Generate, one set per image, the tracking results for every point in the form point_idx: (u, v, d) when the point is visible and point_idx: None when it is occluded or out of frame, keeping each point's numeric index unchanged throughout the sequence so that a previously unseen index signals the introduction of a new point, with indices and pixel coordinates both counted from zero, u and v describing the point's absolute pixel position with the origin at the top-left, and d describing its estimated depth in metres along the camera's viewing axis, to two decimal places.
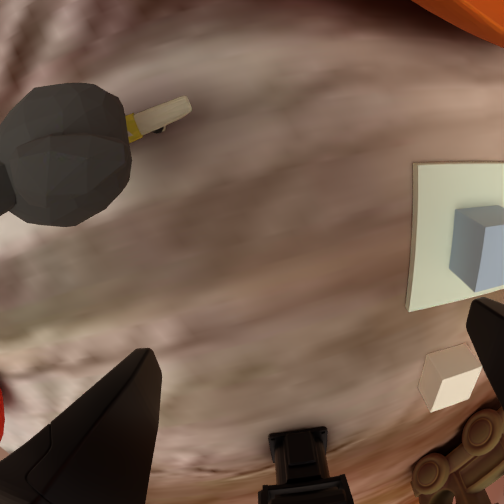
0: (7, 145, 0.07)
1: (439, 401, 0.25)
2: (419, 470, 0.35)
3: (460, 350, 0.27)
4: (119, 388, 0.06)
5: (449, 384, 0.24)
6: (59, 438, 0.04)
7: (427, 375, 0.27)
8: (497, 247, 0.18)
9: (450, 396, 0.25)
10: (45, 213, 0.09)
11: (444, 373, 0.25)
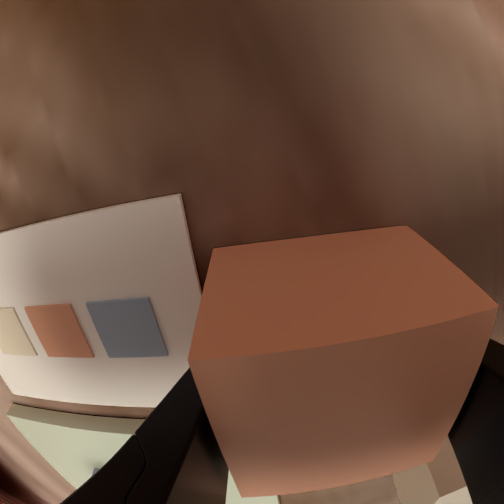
0: None
1: None
2: None
3: None
4: None
5: None
6: (154, 450, 0.04)
7: None
8: None
9: None
10: None
11: None
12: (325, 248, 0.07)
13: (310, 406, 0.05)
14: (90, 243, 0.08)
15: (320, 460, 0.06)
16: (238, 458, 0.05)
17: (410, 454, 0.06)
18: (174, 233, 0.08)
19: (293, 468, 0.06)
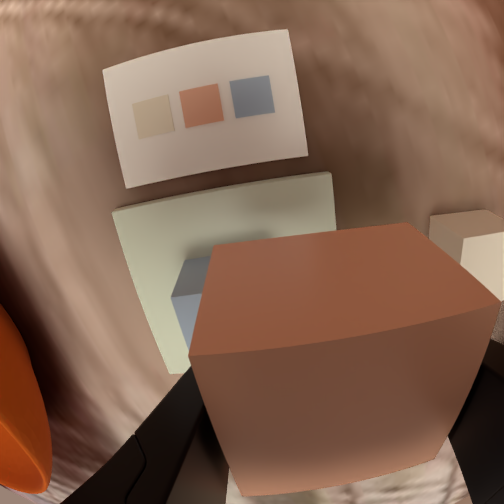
0: None
1: None
2: None
3: (435, 239, 0.18)
4: None
5: None
6: (154, 450, 0.04)
7: None
8: None
9: (494, 278, 0.16)
10: None
11: None
12: (327, 245, 0.07)
13: (312, 403, 0.05)
14: (239, 49, 0.14)
15: (321, 458, 0.05)
16: (239, 456, 0.05)
17: (412, 452, 0.06)
18: (284, 44, 0.14)
19: (295, 466, 0.06)
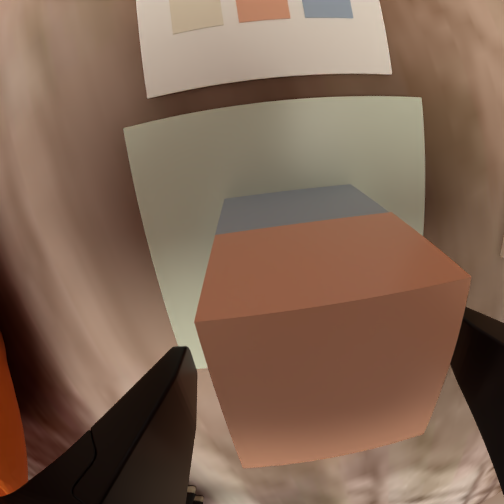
0: None
1: None
2: None
3: None
4: (162, 388, 0.06)
5: None
6: (104, 445, 0.04)
7: None
8: None
9: None
10: None
11: None
12: (316, 232, 0.08)
13: (303, 366, 0.06)
14: None
15: (315, 426, 0.06)
16: (239, 422, 0.06)
17: (400, 424, 0.07)
18: None
19: (291, 434, 0.06)
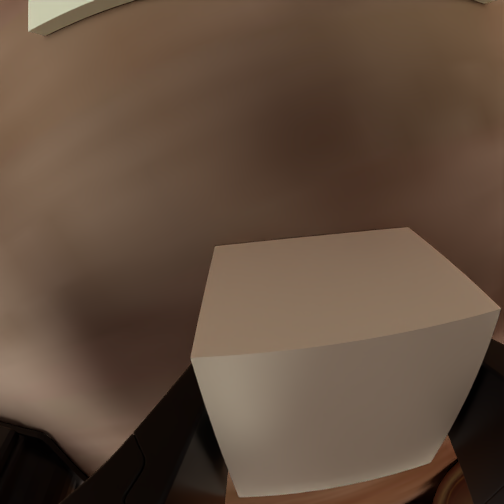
0: None
1: (260, 469, 0.06)
2: None
3: (380, 246, 0.07)
4: None
5: (280, 403, 0.05)
6: (153, 450, 0.04)
7: None
8: None
9: (322, 459, 0.05)
10: None
11: (232, 325, 0.05)
12: None
13: None
14: None
15: None
16: None
17: None
18: None
19: None
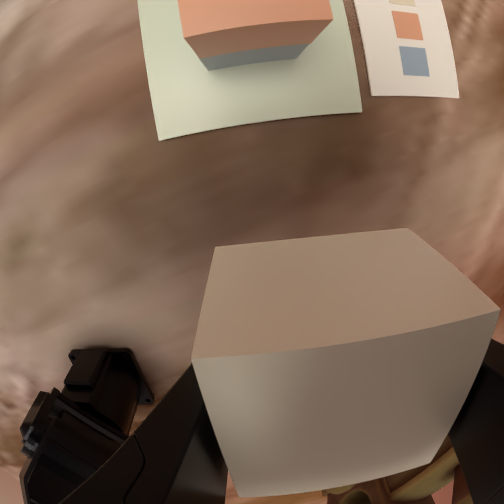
0: None
1: (261, 469, 0.06)
2: None
3: (380, 247, 0.07)
4: None
5: (280, 404, 0.05)
6: (153, 450, 0.04)
7: None
8: None
9: (322, 459, 0.05)
10: None
11: (232, 325, 0.05)
12: None
13: None
14: (445, 61, 0.16)
15: None
16: None
17: (207, 9, 0.08)
18: (449, 93, 0.17)
19: None
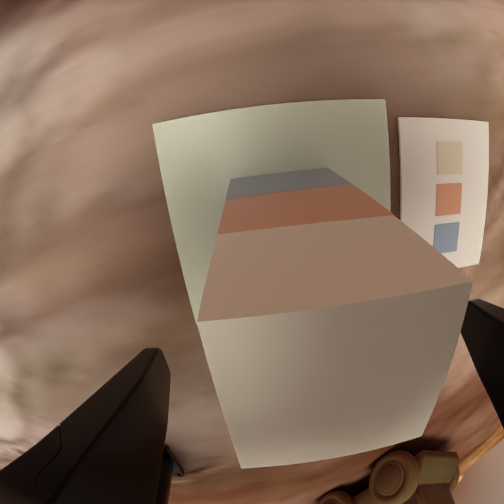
0: None
1: (260, 435, 0.06)
2: None
3: (365, 231, 0.08)
4: (129, 388, 0.06)
5: (275, 365, 0.06)
6: (69, 440, 0.04)
7: None
8: None
9: (317, 425, 0.06)
10: None
11: (232, 295, 0.06)
12: None
13: None
14: (475, 230, 0.18)
15: None
16: None
17: None
18: (470, 261, 0.19)
19: None
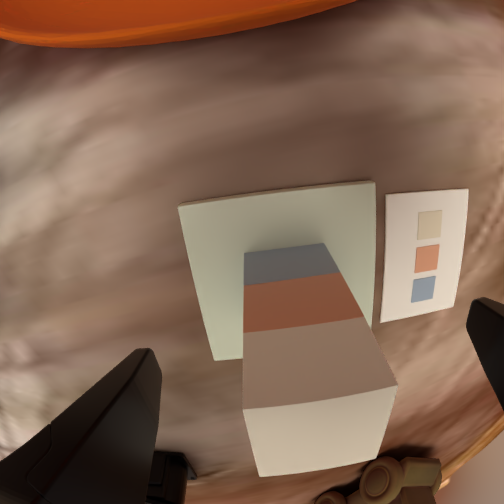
0: None
1: (272, 458, 0.10)
2: None
3: (341, 336, 0.12)
4: (119, 388, 0.06)
5: (282, 425, 0.10)
6: (59, 438, 0.04)
7: None
8: None
9: (306, 452, 0.10)
10: None
11: (259, 391, 0.10)
12: None
13: None
14: (450, 281, 0.22)
15: None
16: None
17: None
18: (445, 305, 0.23)
19: None
